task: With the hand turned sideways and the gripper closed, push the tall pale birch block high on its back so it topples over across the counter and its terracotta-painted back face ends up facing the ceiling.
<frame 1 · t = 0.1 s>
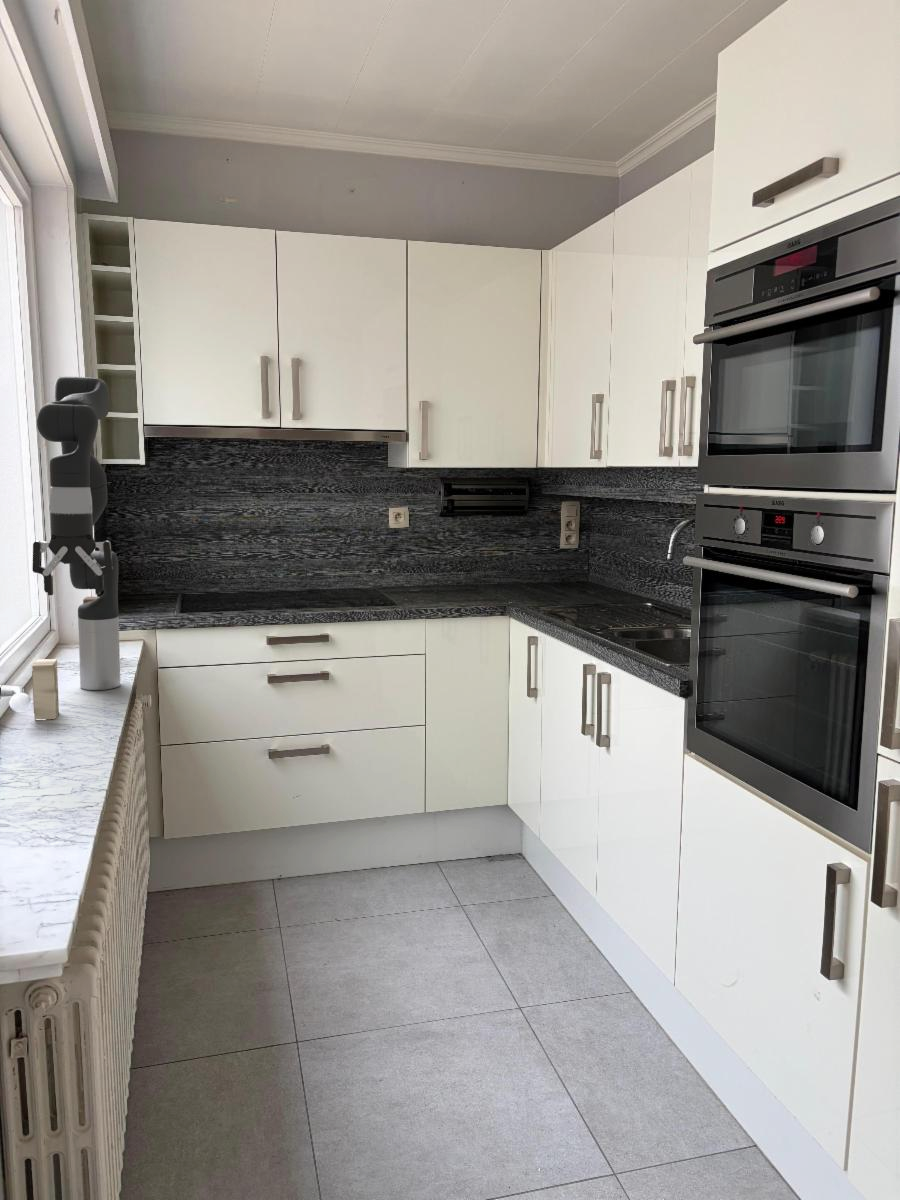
hand: (74, 594, 179), 29 cm above the countertop, tool pointing down, fingers open, 8 cm apart
wooden block: (93, 665, 248), on the countertop
birch block: (47, 716, 199), on the countertop
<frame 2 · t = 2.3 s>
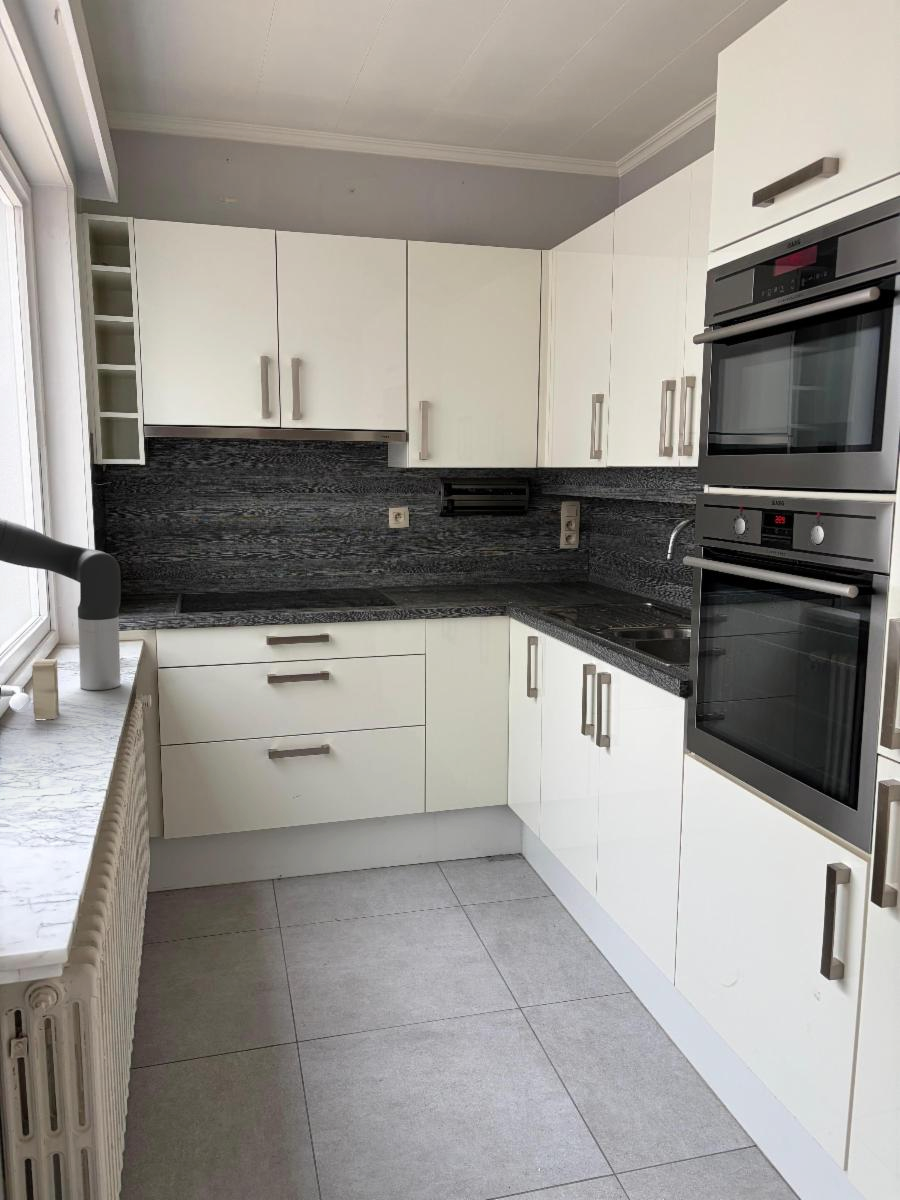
nothing on the countertop moved.
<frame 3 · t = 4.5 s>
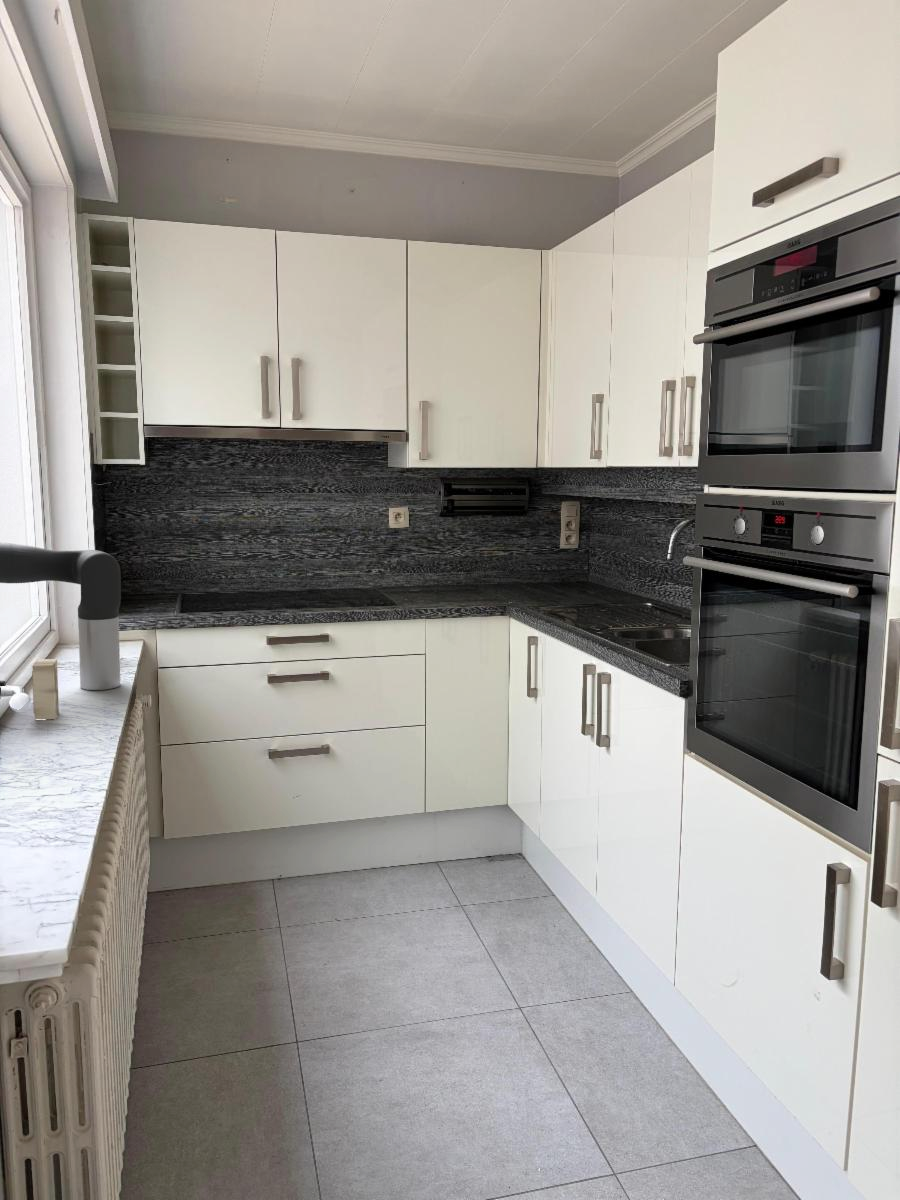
hand: (5, 686, 195), 7 cm above the countertop, tool horizontal, fingers closed
nothing on the countertop moved.
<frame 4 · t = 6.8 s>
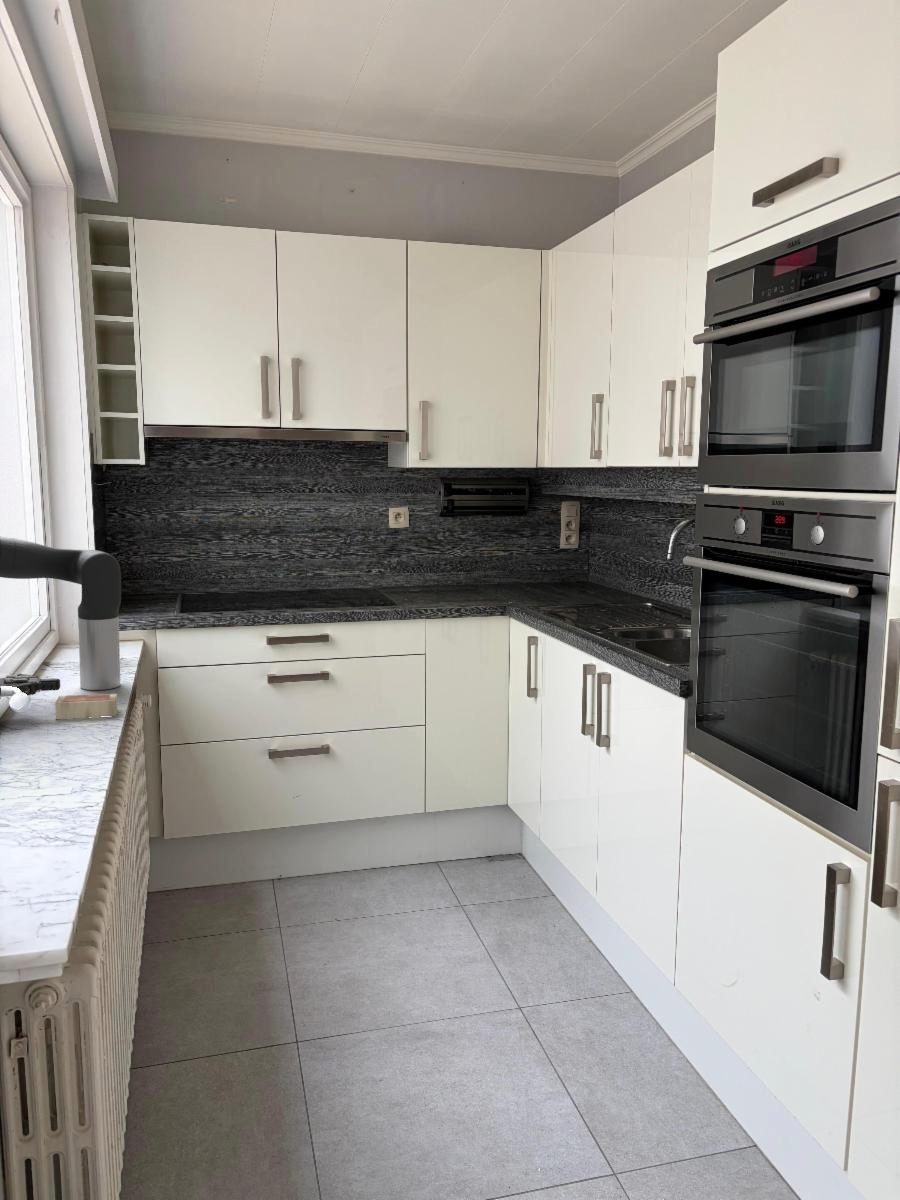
hand: (59, 684, 198), 7 cm above the countertop, tool horizontal, fingers closed
birch block: (57, 708, 199), point 2 cm above the countertop, tilted 90°
everything else where it was.
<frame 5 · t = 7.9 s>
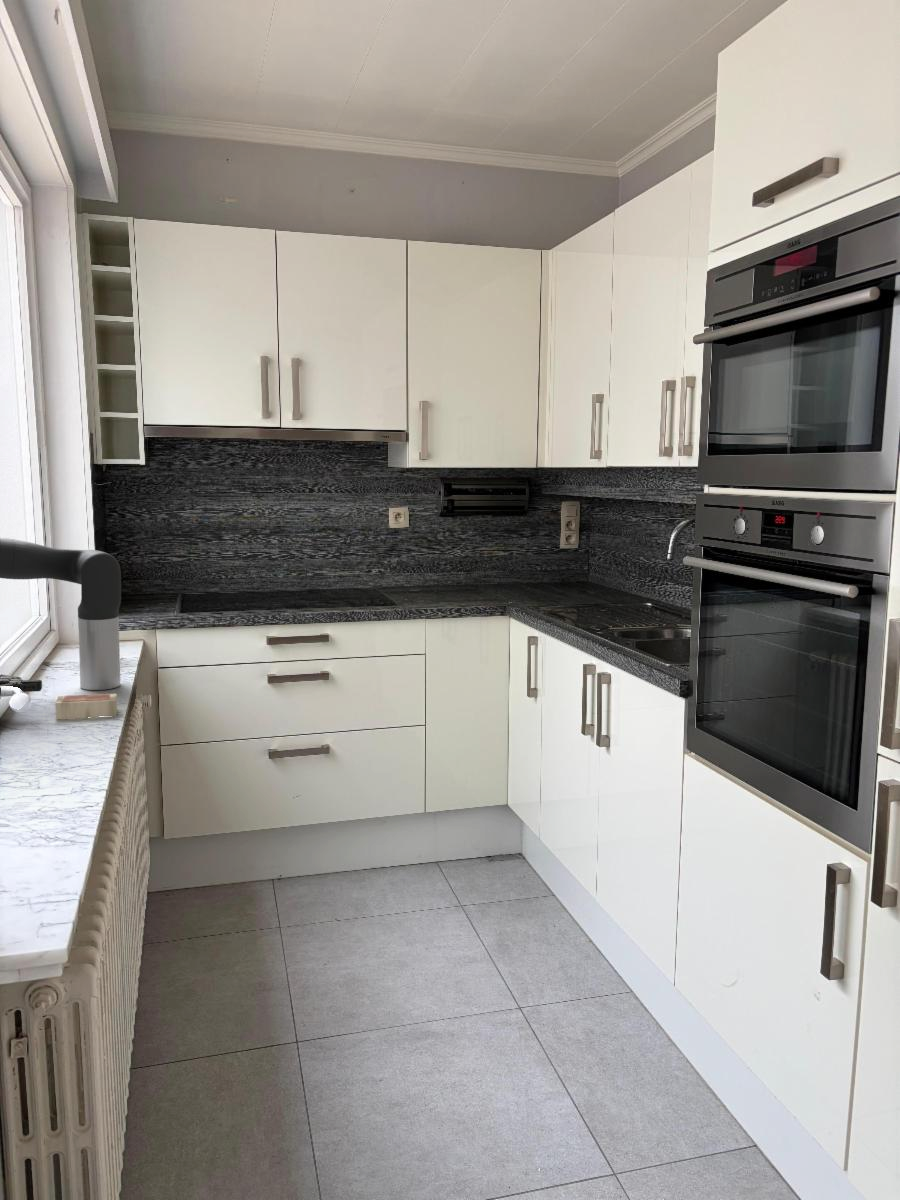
hand: (41, 685, 197), 7 cm above the countertop, tool horizontal, fingers closed
nothing on the countertop moved.
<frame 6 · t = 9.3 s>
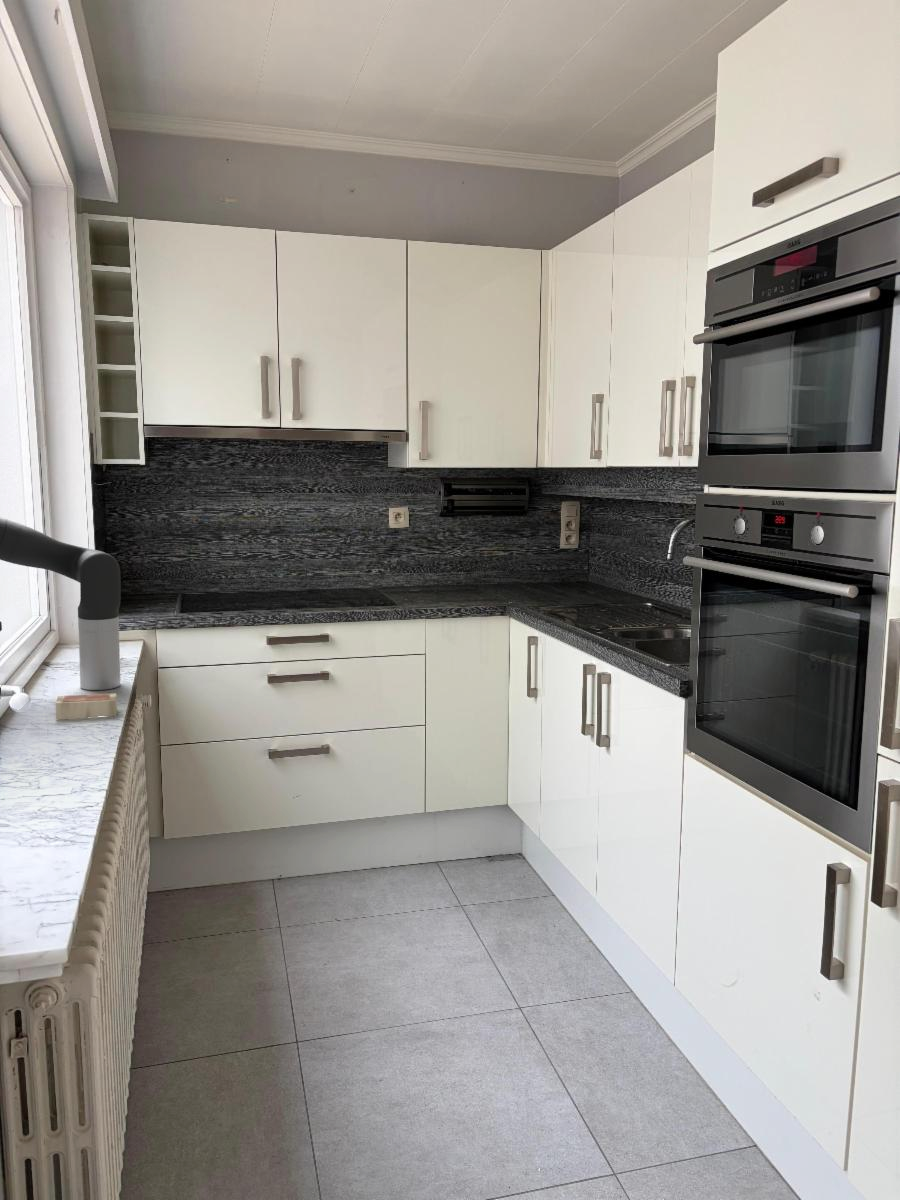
hand: (1, 626, 193), 20 cm above the countertop, tool horizontal, fingers closed
nothing on the countertop moved.
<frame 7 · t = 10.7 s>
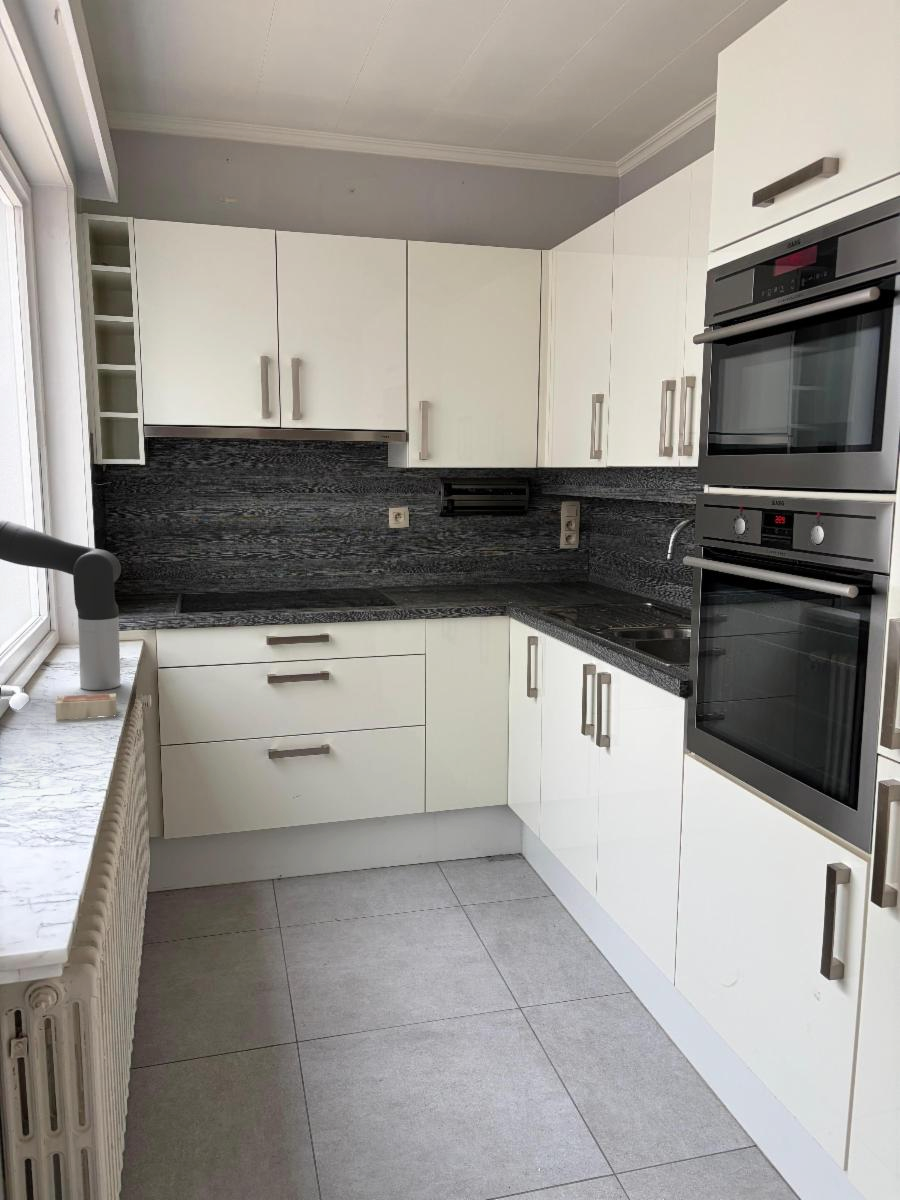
nothing on the countertop moved.
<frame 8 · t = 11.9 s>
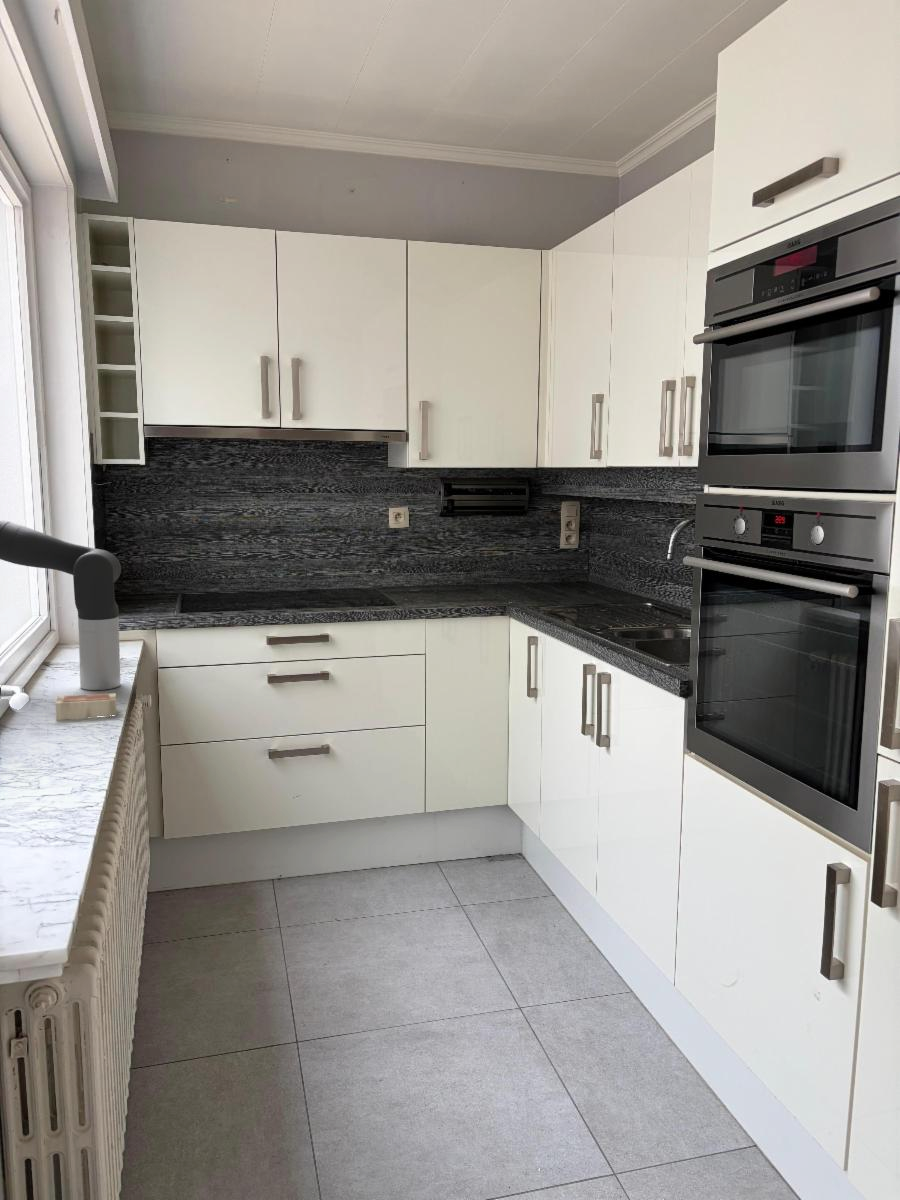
nothing on the countertop moved.
at the end: birch block tilted 90°; birch block inside the target area (0.4 cm from its centre), point 1.7 cm above the countertop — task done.
